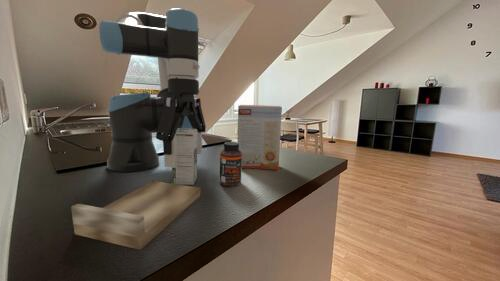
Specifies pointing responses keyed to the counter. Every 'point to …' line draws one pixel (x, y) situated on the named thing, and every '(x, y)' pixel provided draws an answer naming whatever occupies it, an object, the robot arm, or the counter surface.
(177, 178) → the syrup box
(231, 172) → the supplement bottle
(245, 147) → the cracker box
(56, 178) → the counter surface
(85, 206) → the shelf board
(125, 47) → the robot arm
